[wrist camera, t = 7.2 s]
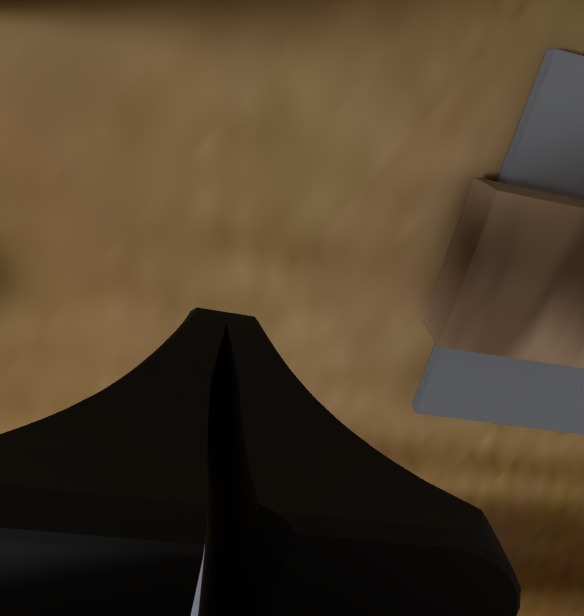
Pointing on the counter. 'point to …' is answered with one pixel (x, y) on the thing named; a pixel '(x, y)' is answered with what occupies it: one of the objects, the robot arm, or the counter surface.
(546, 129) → the mat
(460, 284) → the slab
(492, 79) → the counter surface
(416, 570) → the robot arm
